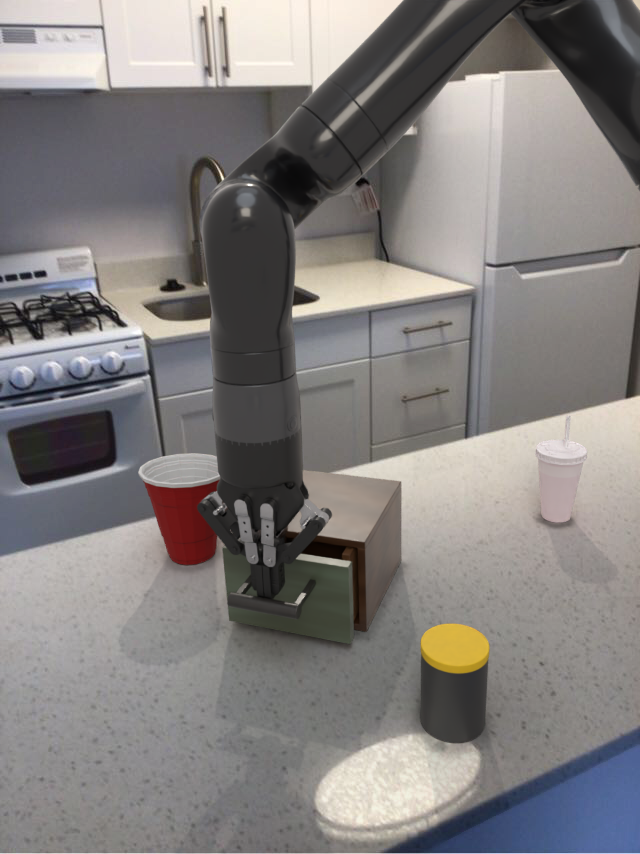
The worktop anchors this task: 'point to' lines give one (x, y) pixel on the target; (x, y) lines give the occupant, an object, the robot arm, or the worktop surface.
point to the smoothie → (559, 475)
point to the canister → (453, 682)
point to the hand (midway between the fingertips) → (268, 593)
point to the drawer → (300, 593)
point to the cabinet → (360, 530)
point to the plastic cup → (182, 503)
